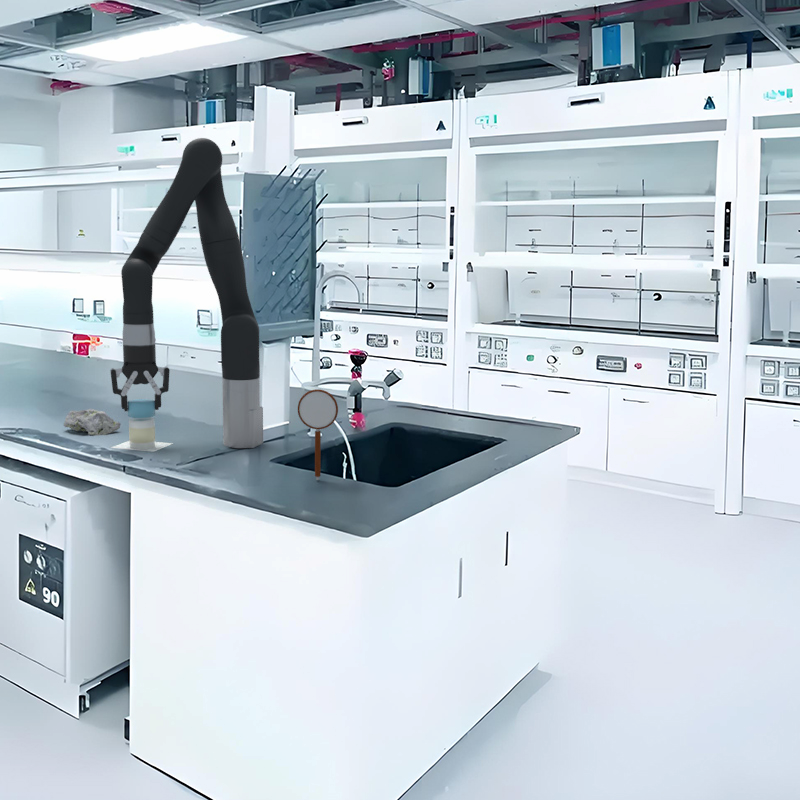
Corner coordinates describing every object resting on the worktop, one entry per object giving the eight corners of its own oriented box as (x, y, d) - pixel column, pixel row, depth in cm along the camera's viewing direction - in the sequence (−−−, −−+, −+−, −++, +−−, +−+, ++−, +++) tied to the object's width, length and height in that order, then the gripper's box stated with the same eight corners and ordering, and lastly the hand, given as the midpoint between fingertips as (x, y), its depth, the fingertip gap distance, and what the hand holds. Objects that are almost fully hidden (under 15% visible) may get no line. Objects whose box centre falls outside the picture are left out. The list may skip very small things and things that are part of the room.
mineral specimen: (54, 433, 227) (53, 408, 226) (72, 429, 234) (71, 404, 233) (103, 439, 223) (102, 413, 221) (120, 433, 229) (120, 408, 228)
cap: (160, 414, 213) (159, 400, 212) (146, 418, 207) (146, 404, 206) (137, 412, 215) (136, 398, 214) (122, 416, 208) (122, 402, 208)
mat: (173, 444, 217) (173, 443, 217) (153, 453, 208) (153, 451, 208) (131, 441, 220) (131, 439, 220) (110, 449, 211) (110, 447, 211)
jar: (160, 445, 214) (159, 417, 213) (147, 450, 208) (146, 422, 207) (138, 443, 216) (137, 416, 215) (124, 448, 210) (123, 420, 209)
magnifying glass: (297, 481, 185) (297, 389, 182) (298, 479, 187) (298, 388, 184) (337, 482, 185) (337, 390, 182) (338, 480, 187) (338, 389, 183)
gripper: (168, 340, 214) (170, 406, 216) (107, 341, 209) (110, 408, 211) (171, 343, 207) (173, 411, 209) (108, 344, 202) (111, 414, 205)
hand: (141, 409), depth 210 cm, fingers open, 6 cm apart
